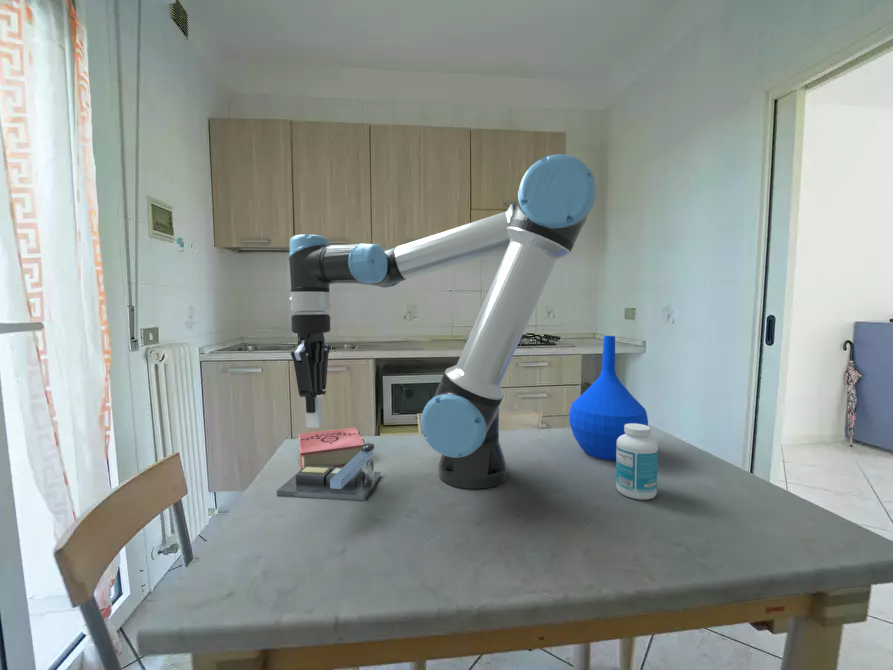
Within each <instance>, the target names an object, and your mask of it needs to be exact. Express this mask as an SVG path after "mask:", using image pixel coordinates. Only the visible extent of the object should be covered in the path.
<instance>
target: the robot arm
mask: <svg viewBox="0 0 893 670" xmlns="http://www.w3.org/2000/svg"><path fill="white" fill-rule="evenodd" d="M517 197H518V200H517V202H514V203H511V204H510V205H509V207H508V208H507V210H506V211H503V212H500V213H497V214H494V215H490V216H488V217H485V218H482V219H479V220H475V221H472V222H469V223H466V224H462V225H460V226H456V227H454V228H453V227H452V228H451V229H447V230H445V231H442V232H438V233H435V234H432V235H428V236H426V237H423V238H419V239H416V240H413V241H410V242H408V243H404V244H400V245H397V246H395V247H392V248H389V249H385V250H384V249H383V247H382V246H381V245H380V244H378V243H366V242H361V243H354V244H338V245H337V244H336V245H331V244H329V239H328V238H327V237H325V236H322V235H318V234H304V233H303V234H296V235H293V236H292V237H291V238H290V239H289V255H288V260H289V261H288V262H289V274H290V276H289V277H290V297H289V301H290V304H291V305H290V306H291V307H290V308H291V309H290V310H291V312H294V314H292V316H290V317H291V323H290V324H291V332H292V333H294V334H298V337H297V338H298V339H297V349H292V350H291V351H290V356H291V359H292V361H293V364H294V371H295V378H296V383H297V391H298V395H299V397H301V398H305V399H304V401H305V428H308V429H320V428H321V427H322V426H323V423H322V419H323V418H322V415H323V414H322V395H326V394H327V391H326V388H327V379H328V365H329V364H328V363H329V356H330V355H329V354H330V350H331V345H330V344H326V342H325V334H326V333H329V332H330V331H331V316H330V314H328V312H331V296H330V294H331V293H330V284H331V285H332V284H333V285H334V284H335V285H336V284H355V285H356V284H357V285H367V286H374V287H380V288H390V287H395V286H397V285H398V284H400V283H401V282H403V281H406V280H409V279H413V278H415V277H419V276H422V275H427V274H429V273H432V272H436V271H439V270H443V269H447V268H450V267H454V266H457V265H461V264H463V263H467V262H470V261H474V260H477V259H481V258H485V257H488V256H491V255H494V254H498V253H503V252H504V251H505V252H504V255H503V257H502V259H501V261H500V262H501V263H500V264H499V267H498V269H497V272H496V274H495V276H494V278H493V281H492V282H491V285H490V288H489V290H488V292H487V294H486V296H485V298H484V301H483V304H482V305H481V308H480V310H479V313H478V315H477V317H476V320H475V322H474V324H473V327H472V328H471V330H470V334H469V336H468V338H467V341H466V342H465V346H464V347H463V350H462V351H461V353H460V354H461V355H460V356H459V359H458V361H457V363H456V364H455V365H453V366H450V367H448V368H446V369H445V371H444V373H443V375H442V377H441V380H440V382H439V383H438V384H439V385H438V386H437V388H436V391H435V393H434V395H433V397H432V398H431V399H430V400H428V401H427V403H426V404H425V406H424V408H423V410H422V413H421V416H420V429H421V432H422V435H423V437H424V440H425V441H426V443H427V444H428V445H429V447H431V448H432V449H433V450H434V451H435V452H437V453H438V454H441V455H440V458H439V462H438V476H439V478H440V479H441V480H442V481H443V482H444V483H446V484H448V485H450V486H454V487H457V488H460V489H461V488H462V489H470V490H471V489H472V490H473V489H477V490H478V489H486V488H492V487H495V486H497V485H500V484H502V483H503V482H504V481H505V480H506V478H507V472H508V471H507V469H508V468H507V466H508V465H507V463H506V462H507V461H506V458H505V456H504V453H503V452H504V451H503V449H502V446H501V444H500V405H501V403H502V401H503V399H504V392H503V389H502V387H501V382H502V380H503V378H504V376H505V374H506V371H507V370H508V367H509V365H510V363H511V361H512V358H513V357H514V354H515V352H516V350H517V348H518V347H519V346H518V345H519V343H520V341H521V339H522V337H523V334H524V333H525V330H526V328H527V325H528V324H529V321H530V320H531V317H532V315H533V313H534V311H535V309H536V306H537V304H538V302H539V300H540V298H541V296H542V294H543V291H544V289H545V287H546V285H547V283H548V280H549V278H550V276H551V274H552V272H553V270H554V267H555V265H556V263H557V261H559V260H560V259H563V258H565V257H567V256H569V255H570V254H571V253H572V250H573V247H574V246H575V243H576V241H577V239H578V236H579V234H580V233H581V231H582V228H583V226H584V225H585V224H586V221H587V219H588V217H589V213H590V212H591V210H592V208H593V207H594V205H595V202H596V199H597V198H596V197H597V185H596V179H595V176H594V174H593V172H592V170H591V169H590V167H589V166H588V165H587V164H586V162H585V161H583V160H581V159H580V158H577V157H575V156H573V155H570V154H561V153H559V154H557V153H556V154H551V155H548V156H545V157H542V158H541V159H538V160H537V161H536V162H534V163H533V164H531V165H530V167H529V168H528V169H527V170H526V172H525V173H524V174H523V176H522V179H521V181H520V183H519V188H518V190H517Z"/></svg>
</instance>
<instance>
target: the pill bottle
mask: <svg viewBox="0 0 893 670" xmlns="http://www.w3.org/2000/svg"><path fill="white" fill-rule="evenodd" d="M624 431H625V433H626V434H624V435H621V436H620V437H618V439H617V449H616V461H615V463H616V464H615V467H616V468H615V487H616V490H617V491H618V493H620V494H621V495H622V496H625V497H628V498H630V499H633V500H644V501H645V500H650V499H654V498H655V497H656V495H657V493H658V465H659V464H658V463H659V461H658V458H659V457H658V456H659V454H658V453H659V452H658V451H659V446H658V443H657V441H656V440H655V439H653V438H652V437H650V435H651V427H650V426H649V425H648V426H646V425H643V424H635V423H630V424H625V425H624Z"/></svg>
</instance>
